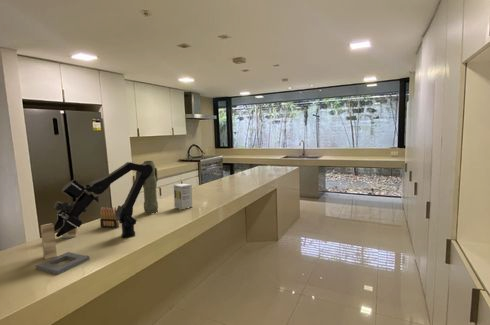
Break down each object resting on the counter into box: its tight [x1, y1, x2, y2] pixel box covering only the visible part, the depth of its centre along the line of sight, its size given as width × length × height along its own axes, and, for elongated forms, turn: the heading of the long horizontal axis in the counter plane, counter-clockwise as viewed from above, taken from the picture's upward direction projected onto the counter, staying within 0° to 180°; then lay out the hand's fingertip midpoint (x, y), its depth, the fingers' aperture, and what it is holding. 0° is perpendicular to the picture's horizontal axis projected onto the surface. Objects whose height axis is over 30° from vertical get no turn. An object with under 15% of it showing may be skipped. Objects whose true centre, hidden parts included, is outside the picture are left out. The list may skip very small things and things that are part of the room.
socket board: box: [35, 251, 90, 276], centre depth 109 cm, size 13×13×2 cm
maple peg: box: [40, 222, 58, 261], centre depth 116 cm, size 4×4×14 cm
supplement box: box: [173, 183, 193, 210], centre depth 193 cm, size 10×9×17 cm
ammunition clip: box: [99, 206, 120, 229], centre depth 154 cm, size 11×2×12 cm, turn 78°
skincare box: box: [61, 226, 78, 239], centre depth 140 cm, size 6×4×12 cm
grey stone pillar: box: [142, 160, 159, 215], centre depth 182 cm, size 9×12×35 cm
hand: (54, 234), depth 117 cm, fingers open, 9 cm apart
